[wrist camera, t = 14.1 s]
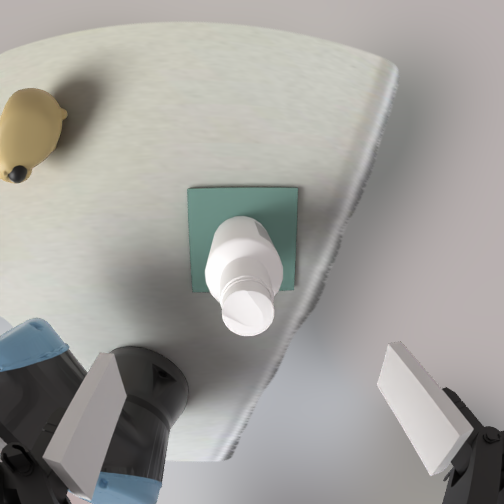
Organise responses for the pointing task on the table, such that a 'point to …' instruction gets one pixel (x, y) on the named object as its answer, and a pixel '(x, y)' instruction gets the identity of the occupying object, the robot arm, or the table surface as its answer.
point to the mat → (242, 204)
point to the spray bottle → (244, 275)
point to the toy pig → (28, 132)
